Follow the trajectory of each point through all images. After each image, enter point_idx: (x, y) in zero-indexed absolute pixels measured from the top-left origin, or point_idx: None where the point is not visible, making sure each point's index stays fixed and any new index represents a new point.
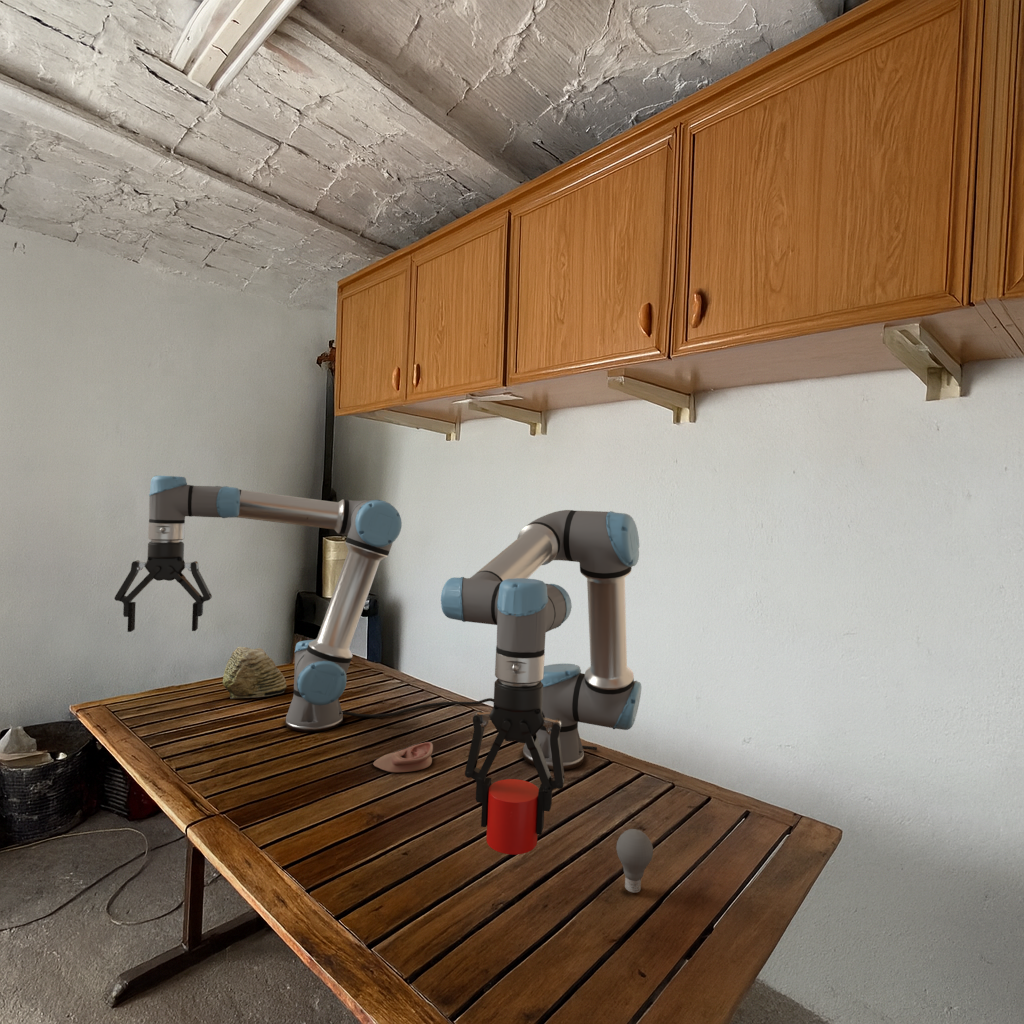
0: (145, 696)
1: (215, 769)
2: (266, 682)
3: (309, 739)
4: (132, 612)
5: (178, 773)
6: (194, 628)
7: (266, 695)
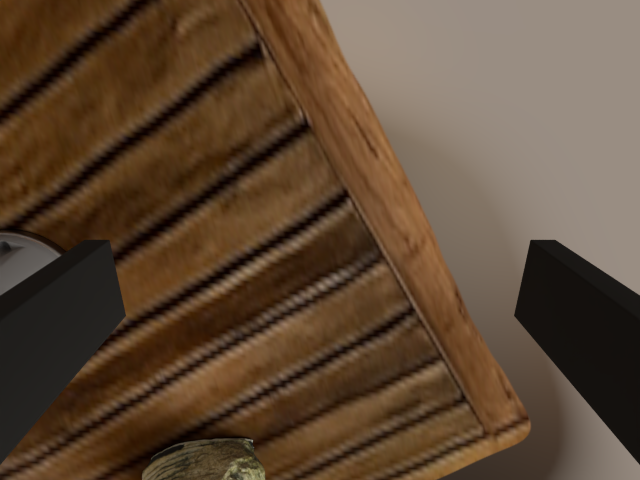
0: (420, 468)
1: (170, 32)
2: (170, 470)
3: (5, 189)
4: (634, 343)
5: (249, 22)
6: (79, 247)
7: (180, 444)
